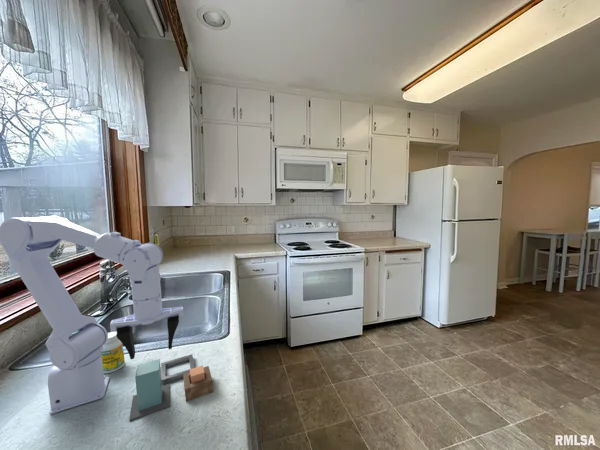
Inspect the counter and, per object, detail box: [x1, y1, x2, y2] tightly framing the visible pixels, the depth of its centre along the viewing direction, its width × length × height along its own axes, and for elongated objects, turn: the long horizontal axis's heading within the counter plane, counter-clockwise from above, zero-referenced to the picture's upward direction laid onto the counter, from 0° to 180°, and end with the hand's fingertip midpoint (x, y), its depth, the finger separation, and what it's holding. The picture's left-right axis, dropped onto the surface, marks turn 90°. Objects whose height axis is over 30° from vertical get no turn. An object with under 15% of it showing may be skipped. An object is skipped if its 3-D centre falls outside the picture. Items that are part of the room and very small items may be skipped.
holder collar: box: [160, 353, 196, 386], centre depth 69 cm, size 8×8×1 cm
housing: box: [182, 365, 214, 402], centre depth 62 cm, size 6×6×3 cm
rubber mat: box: [128, 383, 171, 422], centre depth 58 cm, size 8×8×1 cm
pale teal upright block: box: [134, 358, 163, 411], centre depth 58 cm, size 4×4×8 cm
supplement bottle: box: [101, 331, 126, 374], centre depth 71 cm, size 5×5×10 cm
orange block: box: [190, 365, 205, 384], centre depth 62 cm, size 3×3×4 cm
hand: (152, 351), depth 60 cm, fingers open, 7 cm apart
